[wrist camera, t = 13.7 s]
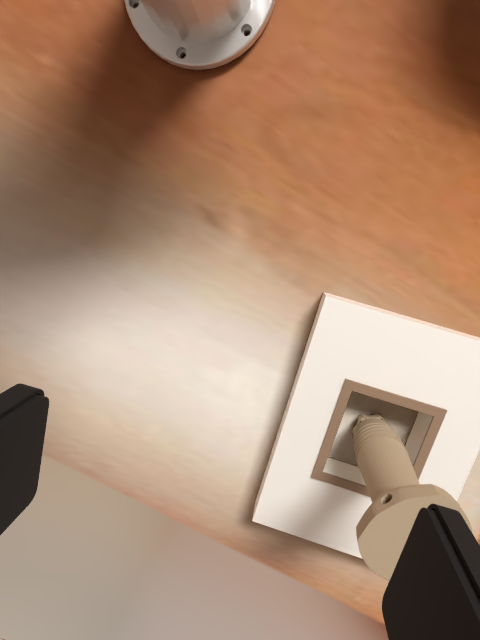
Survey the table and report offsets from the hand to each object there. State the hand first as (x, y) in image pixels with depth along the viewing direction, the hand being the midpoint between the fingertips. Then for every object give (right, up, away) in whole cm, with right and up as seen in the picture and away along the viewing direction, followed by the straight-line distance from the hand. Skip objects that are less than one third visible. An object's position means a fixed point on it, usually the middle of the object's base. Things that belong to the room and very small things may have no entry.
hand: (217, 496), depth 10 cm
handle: (+13, -6, +29) cm, 32 cm away
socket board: (+13, -6, +29) cm, 32 cm away
